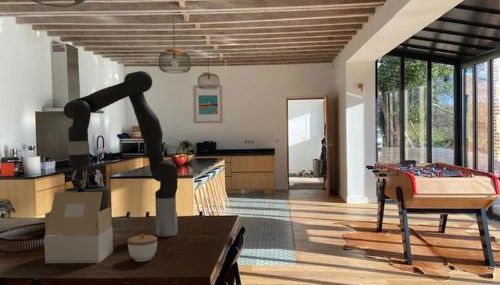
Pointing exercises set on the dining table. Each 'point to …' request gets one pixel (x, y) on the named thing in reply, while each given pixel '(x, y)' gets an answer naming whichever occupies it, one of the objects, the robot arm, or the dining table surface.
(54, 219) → the flap
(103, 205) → the potted plant
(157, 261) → the dining table surface
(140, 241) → the lidded jar
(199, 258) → the dining table surface
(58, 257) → the carton
